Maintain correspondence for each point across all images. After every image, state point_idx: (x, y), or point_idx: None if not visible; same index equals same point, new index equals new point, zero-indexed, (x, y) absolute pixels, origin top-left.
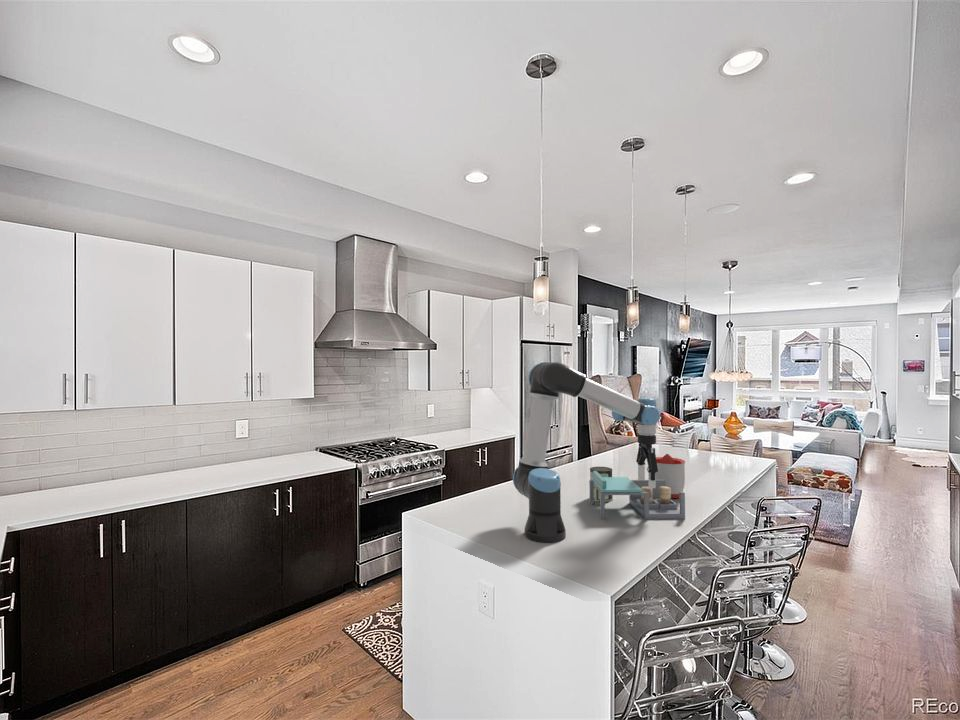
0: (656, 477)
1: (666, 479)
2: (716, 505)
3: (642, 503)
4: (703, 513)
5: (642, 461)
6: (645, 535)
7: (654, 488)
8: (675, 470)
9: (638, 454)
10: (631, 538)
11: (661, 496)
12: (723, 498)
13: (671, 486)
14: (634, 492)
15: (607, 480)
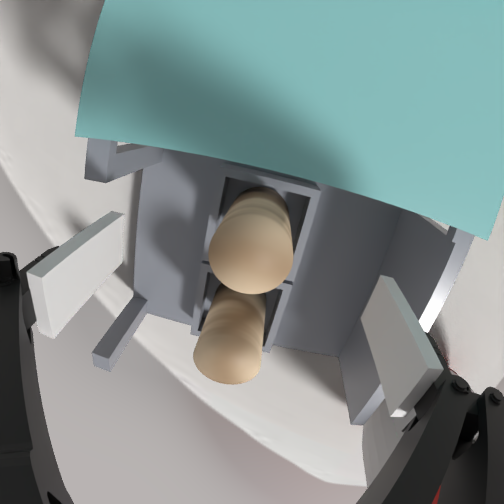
0: None
1: (394, 433)
2: (261, 441)
3: (257, 190)
4: (193, 381)
5: (406, 439)
6: (23, 72)
7: (369, 351)
8: None
9: (486, 485)
10: (19, 27)
11: (224, 307)
12: (310, 470)
13: (375, 421)
14: None
15: (440, 11)
